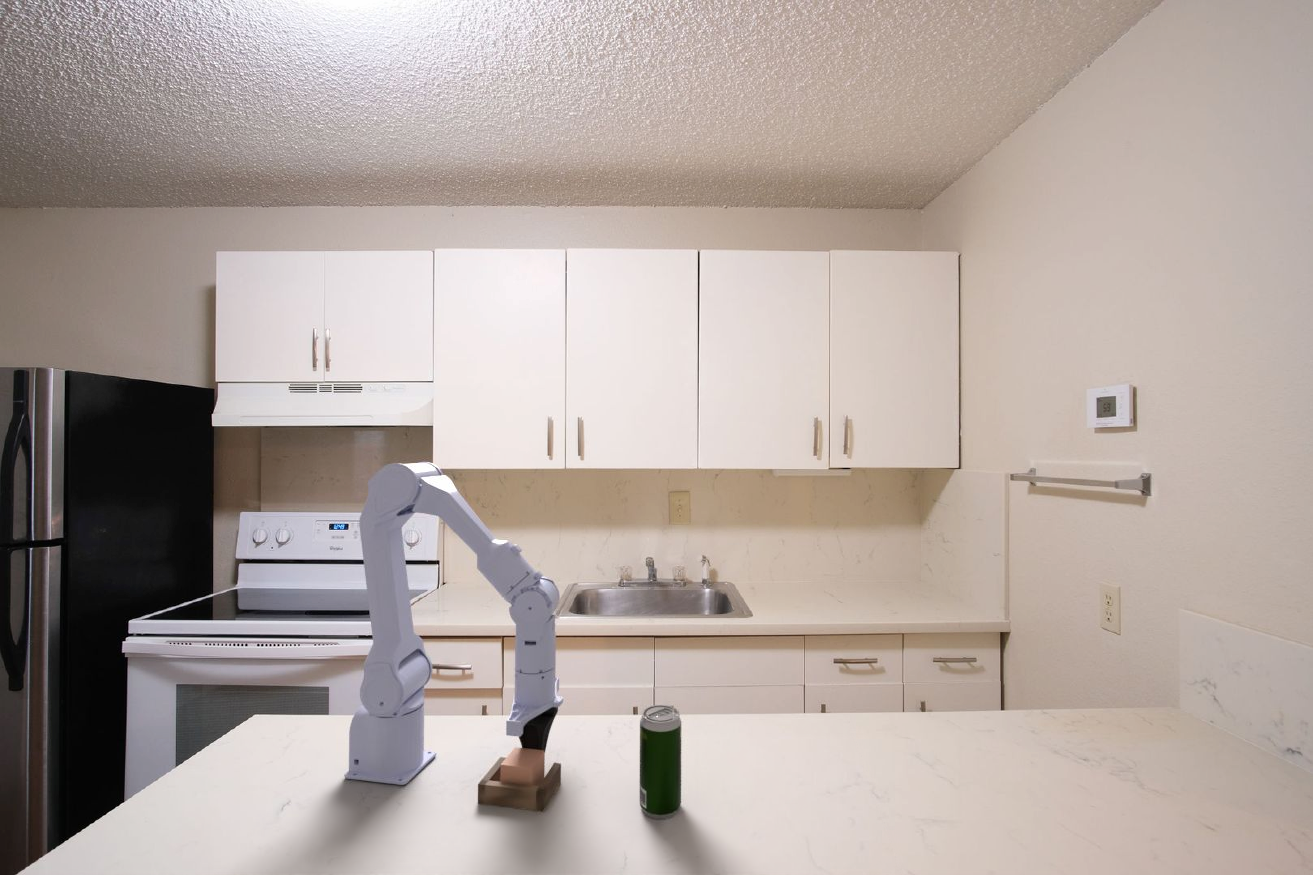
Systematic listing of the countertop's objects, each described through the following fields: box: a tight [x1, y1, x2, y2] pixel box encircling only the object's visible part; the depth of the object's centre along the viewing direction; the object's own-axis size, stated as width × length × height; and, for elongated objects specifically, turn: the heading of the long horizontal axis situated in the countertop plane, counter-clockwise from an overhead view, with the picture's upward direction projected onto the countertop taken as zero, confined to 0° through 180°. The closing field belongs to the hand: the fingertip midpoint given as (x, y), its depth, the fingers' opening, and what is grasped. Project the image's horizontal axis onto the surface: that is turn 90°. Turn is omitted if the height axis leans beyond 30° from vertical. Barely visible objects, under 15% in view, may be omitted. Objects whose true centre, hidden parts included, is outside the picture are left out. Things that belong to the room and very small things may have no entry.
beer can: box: [639, 704, 682, 820], centre depth 73 cm, size 5×5×12 cm
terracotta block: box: [500, 746, 546, 786], centre depth 76 cm, size 4×4×4 cm
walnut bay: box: [477, 756, 562, 812], centre depth 75 cm, size 9×6×2 cm
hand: (534, 762), depth 80 cm, fingers closed
